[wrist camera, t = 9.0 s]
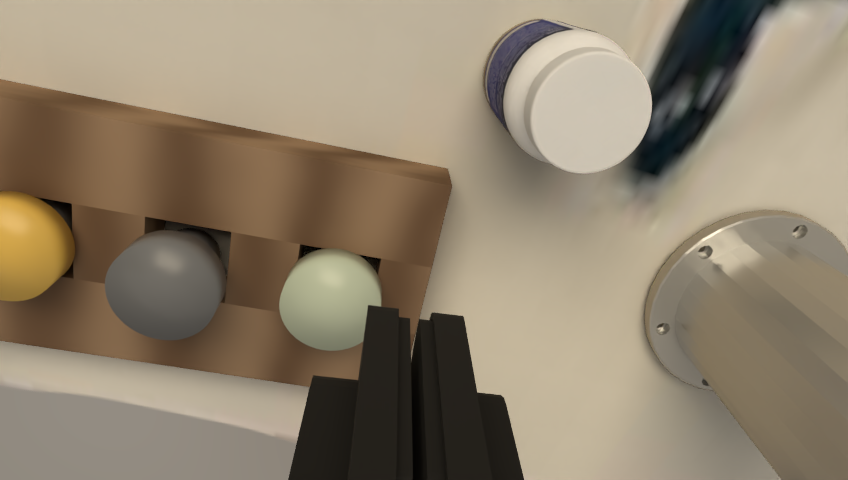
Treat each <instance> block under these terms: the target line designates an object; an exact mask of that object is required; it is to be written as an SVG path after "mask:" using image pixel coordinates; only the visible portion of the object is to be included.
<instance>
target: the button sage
mask: <svg viewBox="0 0 848 480" xmlns="http://www.w3.org/2000/svg"><path fill="white" fill-rule="evenodd" d="M381 298H382V288H381V282H380V279H379V277H378V275H377V273H376V271H375V270H374V268H373V267H372V266H371V265H370V263H368V262H367V261H366V260H365V259H364V258H362V257H361V256H360V255H358V254H355V253H353V252H350V251H348V250H343V249H337V248H326V249H324V248H323V249H320V250H316V251H313V252H311V253H309V254H307V255H305V256H303V257H302V258H301V259H299V260H298V261H297V262H296V263H295V264H294V266H293V267H292V268H291V270H290V272H289V274H288V277H287V279H286V282H285V285H284V287H283V290H282V293H281V296H280V301H279V309H280V315H281V318H282V321H283V323H284V325H285V326H286V328H287V329H288V331H289V332H290V333H291V334H292V335H293V336H294V337H295V338H296V339H298V340H299V341H301V342H302V343H304V344H306V345H308V346H310V347H313V348H316V349H320V350H327V351H337V350H344V349H348V348H351V347H354V346H356V345H358V344H360V343H361V342H363V339H364V332H365V324H366V317H367V309H368V305H373V306H381Z"/></svg>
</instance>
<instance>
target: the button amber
mask: <svg viewBox="0 0 848 480" xmlns="http://www.w3.org/2000/svg"><path fill="white" fill-rule="evenodd" d="M74 255H75V243H74V238H73V233H72V204H71V203H66V202H60V201H55V200H49V199H44V198H38V197H34V196H31V195H28V194H25V193H21V192H14V191H1V192H0V300H3V301H24V300H28V299H32V298H34V297H36V296H38V295H40V294H42V293H43V292H44V291H45V290H47V289H48V288H49V287H50V286H51V285H52V284H53V283H55V282H56V281H57V280H58V279H59V278H60V277H61V276H62V275H64V274H65V273H66V272H67V270H68V269H69V268H70V266H71V265H72V262H73V260H74Z"/></svg>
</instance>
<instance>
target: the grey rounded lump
mask: <svg viewBox="0 0 848 480" xmlns="http://www.w3.org/2000/svg"><path fill="white" fill-rule="evenodd" d="M220 258H221V254H220V249H219V246H218V244H217V243H216V241H215V240H214V239H213V238H212V237H211V236H210V235H209V234H207V233H206V232H204V231H202V230H199V229H195V228H183V229H179V230H177V231H173V230H160V231H154V232H150V233H147V234H145V235H142V236H141V237H139V238H137V239H136V240H135V241H134V242H132V243H131V244H130V245H129V246H128V247H127V248H126V249H125V250H124V251H123V252H122V253H121V254H120V255H119V256H118V257H117V258H116V259H115V260H114V261H113V263H112V264H111V266H110V267H109V269H108V271H107V274H106V278H105V293H106V297H107V300H108V303H109V305H110V307H111V309H112V310H113V312H114V313H115V314H116V316H117V317H118V318H119V319H120V320H121V321H122V322H123V323H124V324H125V325H127V326H128V327H129V328H131V329H132V330H134V331H136V332H138V333H140V334H142V335H144V336H147V337H150V338H154V339H159V340H180V339H184V338H188V337H190V336H193V335H195V334H197V333H198V332H200V331H201V330H203V329H204V328H205V327H206V326H207V325H208V323H209V322H210V321H211V319H212V317H213V316H214V314H215V312H216V310H217V308H218V307H219V305H220V303H221V301H222V299H223V297H224V295H225V292H226V286H227V279H226V273H225V269H224V267H223V264H222V262H221V261H220Z"/></svg>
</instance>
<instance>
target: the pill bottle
mask: <svg viewBox="0 0 848 480" xmlns="http://www.w3.org/2000/svg"><path fill="white" fill-rule="evenodd" d="M483 87H484V92H485V96H486V99H487V101H488V103H489V105H490V107H491V109H492V110H493V112H494V113H495V115H496V116H497V118H498V119H499V120H500V121H501V123H502V124H503V126H504V127H505V128H506V130H507V131H508V132H509V134H510V135H511V137H512V138H513V139H514V141H515V142H516V143H517V144H518V145H519V146H520V147H521V148H522V149H523V150H524V151H525V152H526V153H528V154H529V155H531V156H532V157H534V158H536V159H537V160H540V161H542V162H545V163H549V164H552V165H553V166H555V167H557V168H559V169H561V170H563V171H567V172H570V173H576V174H590V173H596V172H600V171H604V170H606V169H609V168H611V167H613V166H615V165H617V164H618V163H620V162H621V161H622V160H624V159H625V158H626V157H628V156H629V155H630V154H631V153H632V152H633V151H634V149H635V148H636V147H637V146H638V145H639V143H640V142H641V140H642V138H643V137H644V135H645V133H646V131H647V128H648V126H649V122H650V118H651V111H652V98H651V92H650V89H649V85H648V83H647V80H646V78H645V76H644V75H643V73H642V72H641V71H640V69H639V68H638V67H637V66H636V65H635V64H634V63H633V62H631V60H630V58H629V57H628V55H627V54H626V53H625V51H624V50H623V49H622V48H621V47H620V46H619V45H618V44H616V43H615V42H614V41H612V40H611V39H609V38H607V37H606V36H604V35H602V34H599V33H597V32H594V31H591V30H587V29H583V28H579V27H576V26H572V25H569V24H566V23H563V22H559V21H555V20H549V19H534V20H529V21H525V22H522V23H520V24H518V25H515V26H514V27H512V28H511V29H509V30H508V31H506V32H505V33H504V34H503V35H502V36H501V37H500V38H499V39H498V40H497V41H496V42H495V44H494V45H493V47H492V49H491V50H490V52H489V54H488V57H487V59H486V62H485V66H484V72H483Z"/></svg>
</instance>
